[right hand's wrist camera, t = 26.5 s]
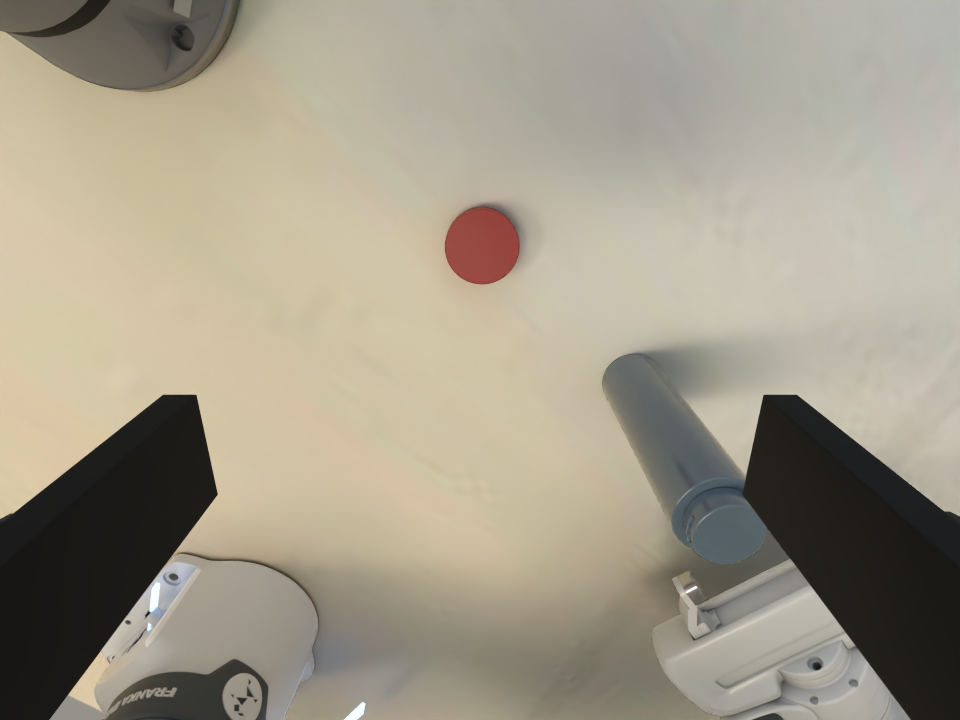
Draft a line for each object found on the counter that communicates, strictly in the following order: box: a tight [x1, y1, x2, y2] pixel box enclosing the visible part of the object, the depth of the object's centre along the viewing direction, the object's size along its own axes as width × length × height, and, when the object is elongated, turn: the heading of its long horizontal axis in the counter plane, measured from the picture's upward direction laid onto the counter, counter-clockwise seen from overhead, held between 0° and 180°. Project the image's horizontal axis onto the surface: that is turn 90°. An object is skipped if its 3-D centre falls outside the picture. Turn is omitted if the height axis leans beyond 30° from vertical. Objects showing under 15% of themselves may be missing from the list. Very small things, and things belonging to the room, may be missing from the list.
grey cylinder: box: [602, 354, 767, 564], centre depth 36 cm, size 5×5×19 cm
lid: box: [445, 207, 519, 284], centre depth 40 cm, size 5×5×2 cm
